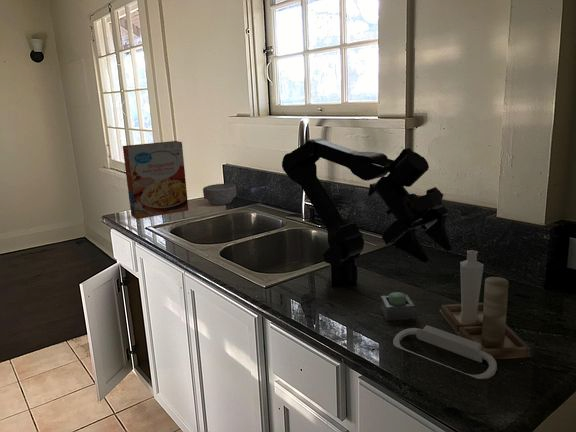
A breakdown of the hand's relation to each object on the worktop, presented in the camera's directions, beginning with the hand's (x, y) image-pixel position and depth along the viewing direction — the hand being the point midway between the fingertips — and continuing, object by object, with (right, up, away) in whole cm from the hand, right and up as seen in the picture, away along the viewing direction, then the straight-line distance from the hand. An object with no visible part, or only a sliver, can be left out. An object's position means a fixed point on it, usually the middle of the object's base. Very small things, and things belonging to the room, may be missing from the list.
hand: (438, 255), depth 108 cm
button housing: (-9, -14, +2) cm, 16 cm away
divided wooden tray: (+6, -16, -7) cm, 18 cm away
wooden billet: (+6, -16, -13) cm, 22 cm away
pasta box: (-89, +10, +109) cm, 141 cm away
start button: (-9, -13, +2) cm, 15 cm away
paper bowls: (-64, +14, +123) cm, 139 cm away
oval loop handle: (-4, -18, -15) cm, 24 cm away
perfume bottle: (+6, -13, -2) cm, 15 cm away
